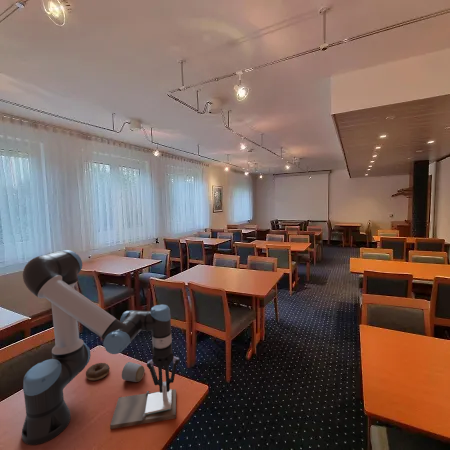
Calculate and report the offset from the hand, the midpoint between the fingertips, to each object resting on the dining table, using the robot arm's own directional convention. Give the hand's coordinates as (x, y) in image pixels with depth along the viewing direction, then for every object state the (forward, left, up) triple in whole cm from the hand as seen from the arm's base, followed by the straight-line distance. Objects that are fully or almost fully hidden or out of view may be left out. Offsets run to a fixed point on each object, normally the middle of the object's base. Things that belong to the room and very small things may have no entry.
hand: (165, 398), depth 106 cm
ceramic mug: (-15, +21, -4) cm, 26 cm away
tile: (-2, 0, 0) cm, 3 cm away
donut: (-34, +27, -4) cm, 43 cm away
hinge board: (-8, 0, -3) cm, 9 cm away
